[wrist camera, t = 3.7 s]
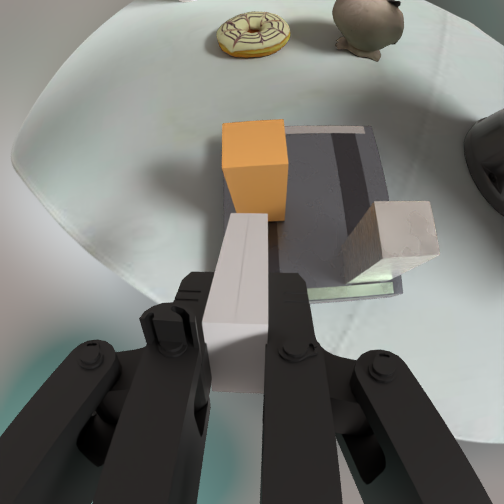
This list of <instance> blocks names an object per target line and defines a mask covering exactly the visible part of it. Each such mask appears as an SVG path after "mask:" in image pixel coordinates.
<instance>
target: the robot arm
mask: <svg viewBox="0 0 504 504" xmlns="http://www.w3.org/2000/svg"><path fill="white" fill-rule="evenodd" d="M464 149H465V157H466V161H467V165H468V168H469V170H470V173H471V175H472V177H473V179H474V181H475V183H476V185H477V187H478V188H479V190H480V191H481V193H482V194H483V196H484V197H485V198H486V200H487V201H488V202H489V203H490V204H491V205H492V206H493V207H494V208H495V209H496V210H497V211H498V212H499V213H501V214H502V215H504V109H502V110H500V111H498V112H496V113H494V114H492V115H490V116H488V117H485V118H483V119H480V120H479V121H477V122H476V123H475V124H474V126H473V127H472V128H471V129H470V130H469V132H468V133H467V135H466V138H465V145H464ZM139 319H140V322H141V326H142V329H143V333H144V336H145V339H146V342H147V345H146V346H145V347H143V348H140V349H136V350H130V351H122V352H115V350H114V348H113V346H112V345H110V344H109V343H108V342H106V341H101V340H91V341H87V342H84V343H82V344H80V345H79V346H77V347H76V348H75V349H74V350H73V351H72V352H71V353H70V354H69V355H68V356H67V357H66V359H65V360H64V361H63V362H62V363H61V364H60V365H59V367H58V368H57V369H56V370H55V371H54V372H53V373H52V374H51V376H50V377H49V378H48V379H47V380H46V381H45V383H44V384H43V385H42V386H41V387H40V389H39V390H38V391H37V392H36V393H35V394H34V396H33V397H32V398H31V399H30V401H29V402H28V403H27V404H26V405H25V406H24V408H23V409H22V410H21V412H20V413H19V414H18V415H17V416H16V418H15V419H14V420H13V421H12V423H11V424H10V425H9V426H8V428H7V429H6V430H5V432H4V433H3V434H2V435H1V437H0V504H91V503H92V501H93V503H92V504H197V497H198V490H199V483H200V476H201V469H202V462H203V455H204V448H205V441H206V435H207V428H208V421H209V414H210V408H211V407H210V398H209V393H210V387H211V385H212V391H219V392H236V393H264V404H263V405H264V406H263V434H262V462H261V463H262V464H261V488H260V504H342V492H341V483H340V472H339V464H338V455H337V447H336V439H337V441H338V443H339V446H340V448H341V451H342V453H343V455H344V457H345V460H346V462H347V465H348V467H349V469H350V472H351V474H352V476H353V479H354V481H355V484H356V486H357V488H358V491H359V493H360V495H361V498H362V500H363V502H364V504H492V502H491V500H490V498H489V496H488V495H487V493H486V491H485V489H484V487H483V486H482V484H481V482H480V480H479V478H478V477H477V475H476V473H475V471H474V470H473V468H472V466H471V464H470V463H469V461H468V459H467V458H466V456H465V454H464V453H463V451H462V449H461V448H460V446H459V444H458V443H457V441H456V440H455V438H454V436H453V435H452V433H451V431H450V430H449V428H448V427H447V425H446V424H445V422H444V420H443V419H442V417H441V416H440V414H439V413H438V411H437V410H436V408H435V406H434V405H433V403H432V402H431V400H430V399H429V397H428V396H427V394H426V393H425V391H424V390H423V388H422V387H421V385H420V384H419V382H418V381H417V379H416V378H415V377H414V375H413V374H412V372H411V371H410V369H409V368H408V366H407V365H406V363H405V362H404V361H403V360H402V359H401V358H400V357H399V356H397V355H395V354H393V353H392V352H390V351H385V350H370V351H368V352H366V353H364V354H362V355H361V356H360V357H359V358H358V359H357V360H352V359H347V358H343V357H339V356H336V355H333V354H331V353H329V352H327V351H326V350H324V349H323V348H322V347H321V346H320V344H319V342H317V340H316V337H315V333H314V327H313V321H312V315H311V309H310V303H309V298H308V292H307V286H306V282H305V281H304V279H303V278H302V277H301V276H300V275H299V274H298V273H272V272H268V214H263V213H231V214H230V218H229V222H228V225H227V229H226V232H225V236H224V240H223V243H222V247H221V251H220V255H219V258H218V262H217V266H216V270H215V272H191V273H189V274H188V275H187V276H186V277H185V278H184V279H183V280H182V282H181V284H180V287H179V289H178V292H177V294H176V297H175V300H174V302H171V303H162V304H158V305H156V306H153V307H151V308H149V309H148V310H146V311H145V312H144V313H143V314H142V316H141V317H140V318H139ZM335 436H336V438H335Z"/></svg>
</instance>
